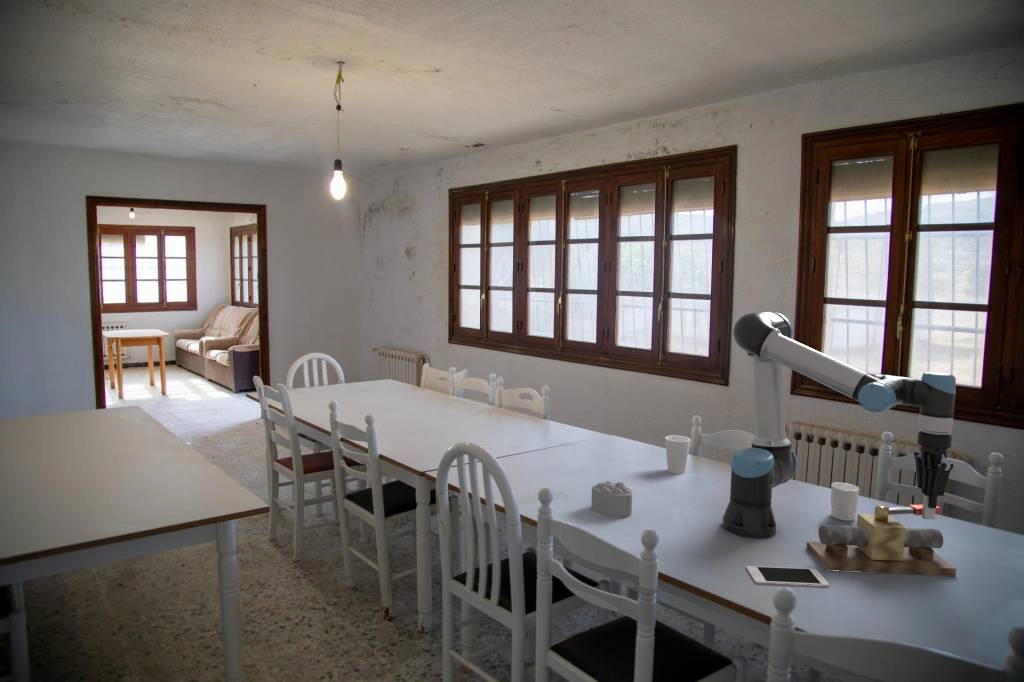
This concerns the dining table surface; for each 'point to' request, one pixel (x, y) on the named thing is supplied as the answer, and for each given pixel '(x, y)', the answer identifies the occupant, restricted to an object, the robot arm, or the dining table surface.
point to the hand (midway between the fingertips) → (928, 518)
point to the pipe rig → (880, 548)
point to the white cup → (844, 501)
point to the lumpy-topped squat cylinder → (612, 499)
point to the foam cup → (677, 453)
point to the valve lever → (898, 511)
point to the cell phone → (787, 575)
